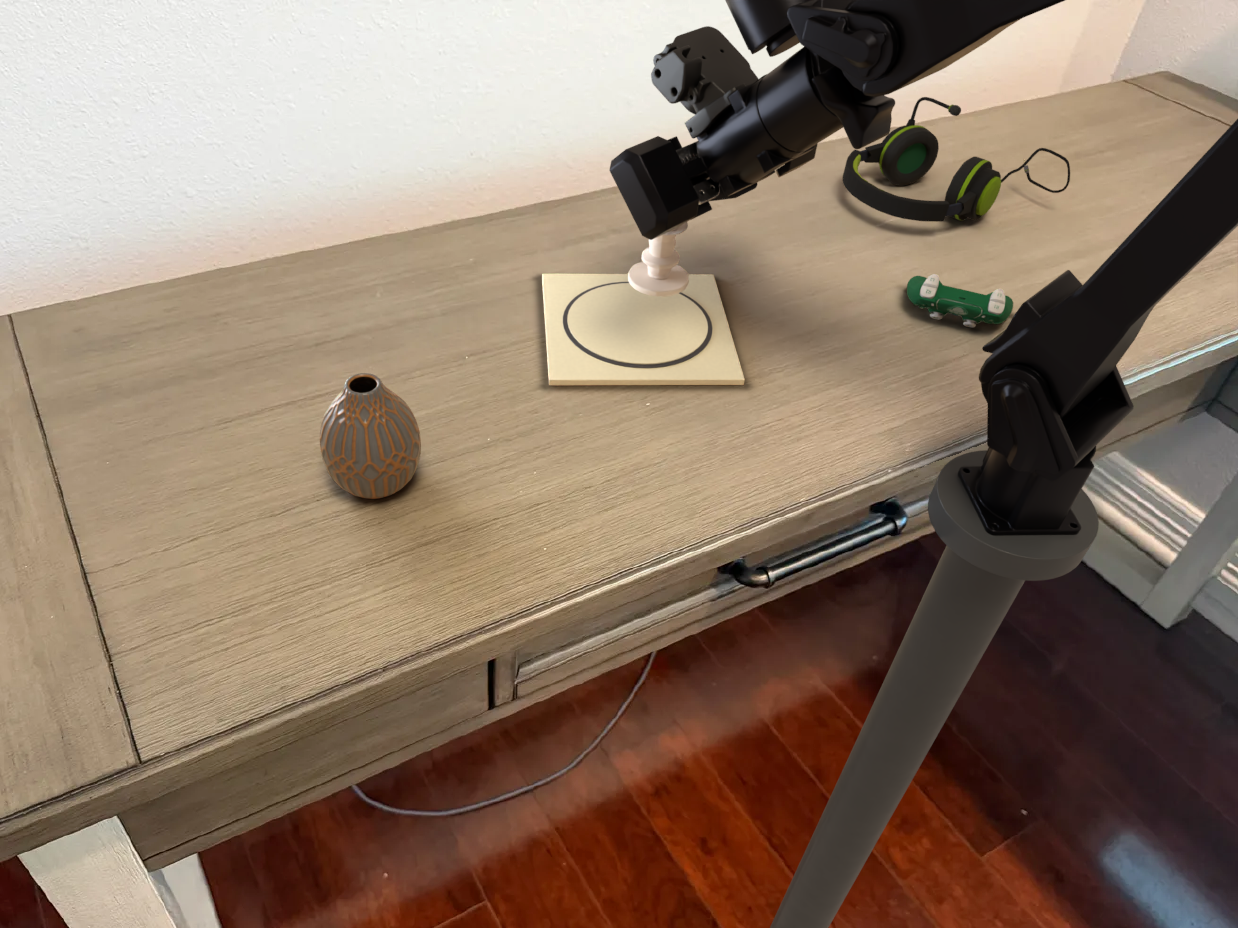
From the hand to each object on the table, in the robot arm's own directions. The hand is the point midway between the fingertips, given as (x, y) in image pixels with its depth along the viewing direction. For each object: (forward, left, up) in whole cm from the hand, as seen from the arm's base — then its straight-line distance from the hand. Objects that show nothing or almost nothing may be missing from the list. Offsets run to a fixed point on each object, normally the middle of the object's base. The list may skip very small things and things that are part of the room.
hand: (653, 203), depth 80 cm
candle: (-1, -1, -7) cm, 7 cm away
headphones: (+20, -33, -10) cm, 40 cm away
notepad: (-3, +1, -10) cm, 11 cm away
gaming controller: (-1, -28, -10) cm, 30 cm away
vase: (-22, +22, -10) cm, 33 cm away
